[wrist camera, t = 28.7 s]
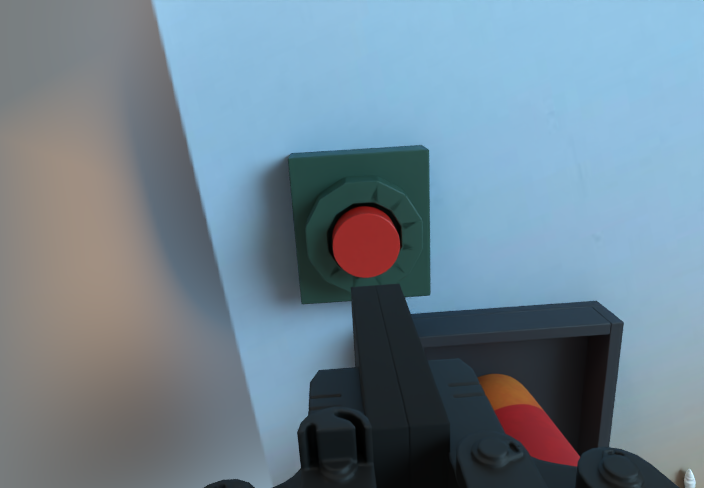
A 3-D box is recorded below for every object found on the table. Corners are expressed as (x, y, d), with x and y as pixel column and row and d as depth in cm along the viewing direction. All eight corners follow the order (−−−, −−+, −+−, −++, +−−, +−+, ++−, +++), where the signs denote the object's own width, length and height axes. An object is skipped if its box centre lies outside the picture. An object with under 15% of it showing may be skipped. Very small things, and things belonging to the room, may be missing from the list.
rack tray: (390, 489, 38) (396, 525, 35) (383, 315, 34) (389, 339, 31) (579, 474, 38) (601, 509, 35) (597, 300, 34) (624, 322, 31)
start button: (334, 269, 29) (335, 280, 27) (330, 208, 28) (330, 215, 26) (396, 264, 29) (401, 275, 27) (394, 203, 28) (399, 211, 26)
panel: (303, 290, 33) (300, 317, 29) (290, 153, 30) (285, 162, 26) (424, 282, 33) (436, 308, 29) (422, 144, 30) (435, 153, 27)
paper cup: (493, 469, 37) (586, 686, 24) (414, 417, 35) (466, 618, 22) (568, 396, 35) (713, 583, 22) (489, 337, 34) (594, 502, 20)
